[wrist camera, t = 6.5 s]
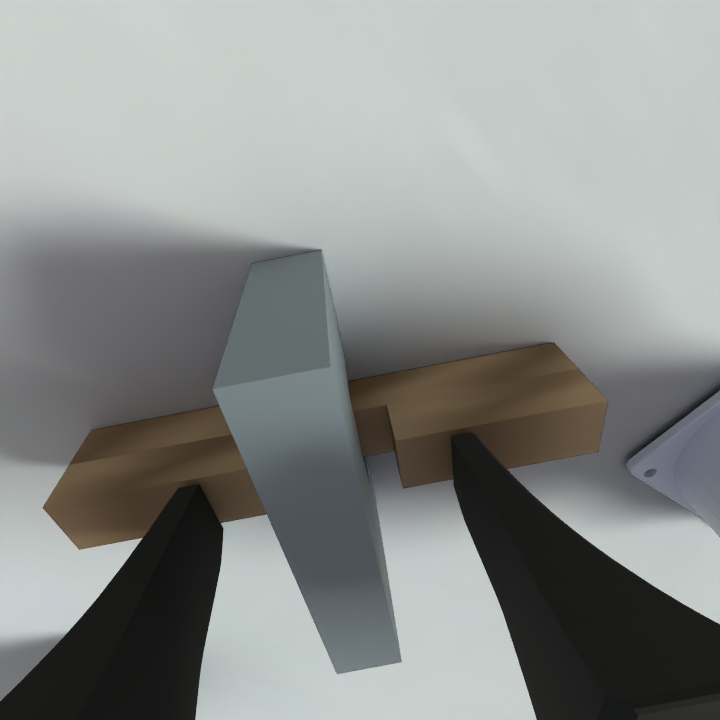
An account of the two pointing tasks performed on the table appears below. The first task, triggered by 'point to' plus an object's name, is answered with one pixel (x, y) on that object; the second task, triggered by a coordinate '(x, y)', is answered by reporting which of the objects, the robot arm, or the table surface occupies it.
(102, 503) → the notched walnut bar
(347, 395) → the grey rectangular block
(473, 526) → the robot arm
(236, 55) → the table surface
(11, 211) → the table surface
